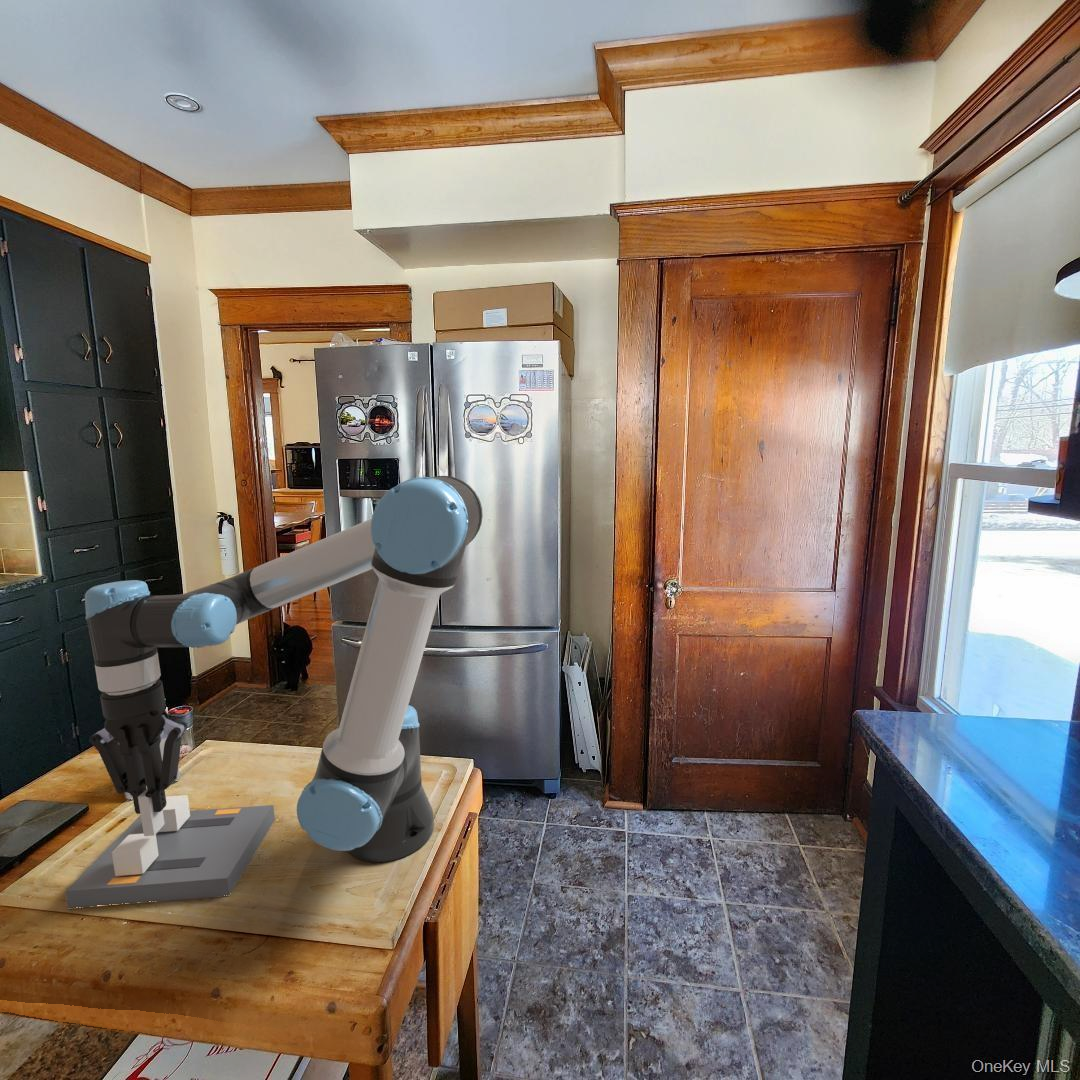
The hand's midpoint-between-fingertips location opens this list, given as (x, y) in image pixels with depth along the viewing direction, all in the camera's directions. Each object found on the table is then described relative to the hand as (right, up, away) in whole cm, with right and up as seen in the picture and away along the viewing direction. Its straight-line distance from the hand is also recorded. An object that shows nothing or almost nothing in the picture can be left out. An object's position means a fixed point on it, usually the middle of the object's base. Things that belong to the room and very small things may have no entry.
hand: (154, 829), depth 86 cm
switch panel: (0, -8, +6) cm, 11 cm away
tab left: (-3, -6, +1) cm, 7 cm away
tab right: (-4, -4, +11) cm, 12 cm away
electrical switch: (-20, -6, +28) cm, 35 cm away
